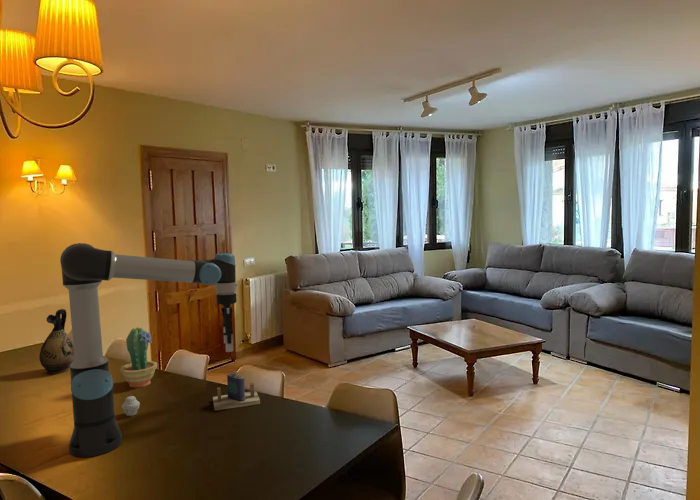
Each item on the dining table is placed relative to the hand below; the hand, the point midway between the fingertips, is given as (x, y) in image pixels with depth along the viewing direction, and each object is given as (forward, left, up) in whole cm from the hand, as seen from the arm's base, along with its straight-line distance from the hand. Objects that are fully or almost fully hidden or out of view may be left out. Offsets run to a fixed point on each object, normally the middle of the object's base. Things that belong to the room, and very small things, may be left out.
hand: (228, 347), depth 192 cm
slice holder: (-2, -2, -22) cm, 22 cm away
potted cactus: (+37, +36, -22) cm, 56 cm away
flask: (-2, -2, -20) cm, 20 cm away
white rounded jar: (+1, +36, -22) cm, 42 cm away
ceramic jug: (+74, +75, -22) cm, 108 cm away
